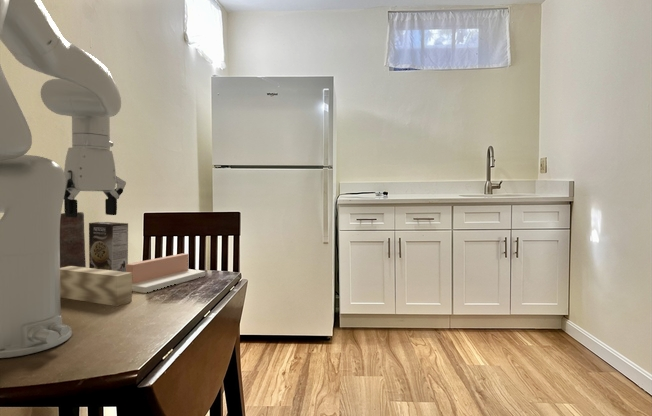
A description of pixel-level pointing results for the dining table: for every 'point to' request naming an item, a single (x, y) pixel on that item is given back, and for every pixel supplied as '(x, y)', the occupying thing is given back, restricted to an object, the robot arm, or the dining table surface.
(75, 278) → the maple bar
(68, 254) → the candle
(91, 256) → the coffee box
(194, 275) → the stand
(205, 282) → the dining table surface
